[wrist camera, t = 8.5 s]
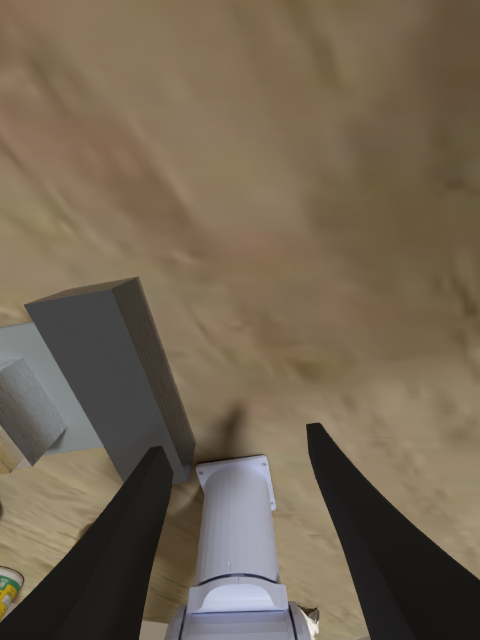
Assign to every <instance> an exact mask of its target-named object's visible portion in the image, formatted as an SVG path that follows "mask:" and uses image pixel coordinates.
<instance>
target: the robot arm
mask: <svg viewBox="0 0 480 640" xmlns="http://www.w3.org/2000/svg"><path fill="white" fill-rule="evenodd" d="M306 428H307V440H308V452H309V457H310V460H311V464H312V467H313V470H314V474H315V477H316V480H317V483H318V485H319V488H320V490H321V493H322V496H323V498H324V501H325V503H326V506H327V508H328V511H329V514H330V516H331V519H332V521H333V524H334V526H335V529H336V531H337V534H338V537H339V539H340V542H341V545H342V548H343V551H344V554H345V557H346V560H347V563H348V566H349V570H350V573H351V576H352V579H353V582H354V586H355V589H356V592H357V595H358V599H359V602H360V605H361V608H362V612H363V615H364V618H365V621H366V625H367V628H368V631H369V635H370V638H371V640H480V580H479V579H478V578H477V577H476V576H474V575H473V574H472V573H471V572H469V571H468V570H467V569H466V568H464V567H463V566H462V565H461V564H459V563H458V562H457V561H456V560H454V559H453V558H452V557H451V556H450V555H448V554H447V553H446V552H445V551H444V550H442V549H441V548H440V547H439V546H438V545H437V544H435V543H434V542H433V541H432V540H431V539H430V538H428V537H427V536H426V535H425V534H424V533H423V532H421V531H420V530H419V529H418V528H417V527H416V526H414V525H413V524H412V523H411V522H410V521H409V520H408V519H407V518H406V517H405V516H404V515H402V514H401V513H400V512H399V511H398V510H397V509H396V508H395V507H394V506H393V505H392V504H391V503H390V502H389V501H388V500H387V499H386V498H385V497H384V496H383V495H382V494H381V493H380V492H379V491H378V490H377V489H376V488H375V487H374V486H373V485H372V484H371V483H370V482H369V481H368V480H367V479H366V478H365V477H364V476H363V475H362V474H361V472H360V471H359V470H358V469H357V468H356V467H355V466H354V465H353V464H352V462H351V461H350V460H349V459H348V458H347V457H346V455H345V454H344V453H343V452H342V451H341V450H340V448H339V447H338V446H337V445H336V443H335V442H334V441H333V440H332V438H331V437H330V436H329V434H328V433H327V432H326V430H325V429H324V427H323V426H322V424H320V423H319V422H318V423H312V424H306ZM196 473H197V475H198V478H199V481H200V484H201V486H202V489H203V492H204V494H205V495H204V503H203V512H202V521H201V529H200V538H199V546H198V555H197V563H196V572H195V581H194V587H190V588H189V594H188V602H187V604H184V605H180V606H179V607H178V609H177V611H176V613H175V614H174V616H173V617H172V618H171V620H170V622H169V625H168V628H167V632H166V635H165V640H312V639H311V635H310V631H309V628H308V624H307V621H306V619H305V616H304V615H303V613H302V612H301V610H300V609H299V608H298V606H297V604H296V602H294V601H288V600H287V593H286V586H285V584H281V580H280V572H279V565H278V557H277V550H276V542H275V534H274V527H273V519H272V511H273V510H275V509H276V504H275V499H274V493H273V488H272V483H271V477H270V472H269V466H268V461H267V457H266V456H264V455H260V456H253V457H246V458H239V459H231V460H224V461H217V462H210V463H203V464H198V465H197V466H196ZM173 474H174V472H173V470H172V468H171V465H170V463H169V461H168V458H167V456H166V454H165V451H164V449H163V447H162V446H155V447H150V448H149V450H148V451H147V452H146V454H145V455H144V456H143V458H142V459H141V461H140V462H139V463H138V465H137V466H136V468H135V469H134V470H133V472H132V473H131V475H130V476H129V477H128V479H127V480H126V481H125V483H124V484H123V486H122V487H121V488H120V490H119V491H118V492H117V494H116V495H115V496H114V498H113V499H112V500H111V502H110V503H109V504H108V505H107V507H106V508H105V509H104V511H103V512H102V513H101V514H100V516H99V517H98V518H97V519H96V521H95V522H94V523H93V524H92V526H91V527H90V528H89V529H88V530H87V532H86V533H85V534H84V535H83V536H82V538H81V539H80V540H79V541H78V542H77V543H76V544H75V546H74V547H73V548H72V549H71V550H70V551H69V552H68V554H67V555H66V556H65V557H64V558H63V559H62V560H61V561H60V562H59V563H58V564H57V565H56V566H55V568H54V569H53V570H52V571H51V572H50V573H49V574H48V575H47V576H46V577H45V578H44V579H43V580H42V581H41V582H40V583H39V584H38V586H37V587H36V588H35V589H34V590H33V591H32V592H31V593H30V594H29V595H28V596H27V597H26V598H25V599H24V600H23V601H22V602H21V603H20V604H19V605H18V606H17V607H16V608H15V609H14V610H13V611H12V612H11V613H10V614H8V616H7V617H5V618H4V619H3V620H2V621H1V622H0V640H139V635H140V629H141V623H142V617H143V611H144V606H145V600H146V595H147V590H148V584H149V579H150V574H151V570H152V565H153V561H154V557H155V553H156V549H157V545H158V542H159V538H160V534H161V530H162V526H163V523H164V519H165V515H166V511H167V507H168V503H169V499H170V494H171V488H172V481H173Z"/></svg>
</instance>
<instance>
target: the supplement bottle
mask: <svg viewBox="0 0 480 640" xmlns="http://www.w3.org/2000/svg"><path fill="white" fill-rule="evenodd" d="M22 583H23V578H22V576H21V575H20V574H19V573H18V572H16V571H15V570H12V569H9V568H5V567H0V621H1V619H2V617H3V616H4V614H5V612H6V610H7V609H8V607H9V606H10V604H11V602H12V601H13V599H14V597H15V596H16V594H17V592H18V591H19V589H20V587H21V585H22Z"/></svg>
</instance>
